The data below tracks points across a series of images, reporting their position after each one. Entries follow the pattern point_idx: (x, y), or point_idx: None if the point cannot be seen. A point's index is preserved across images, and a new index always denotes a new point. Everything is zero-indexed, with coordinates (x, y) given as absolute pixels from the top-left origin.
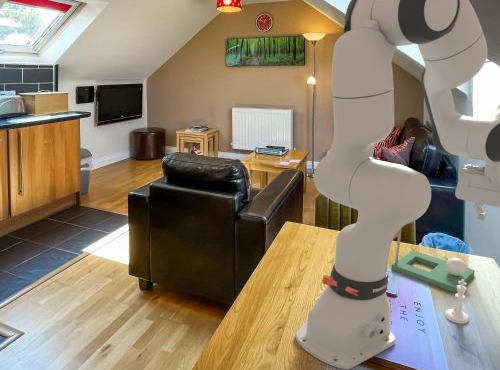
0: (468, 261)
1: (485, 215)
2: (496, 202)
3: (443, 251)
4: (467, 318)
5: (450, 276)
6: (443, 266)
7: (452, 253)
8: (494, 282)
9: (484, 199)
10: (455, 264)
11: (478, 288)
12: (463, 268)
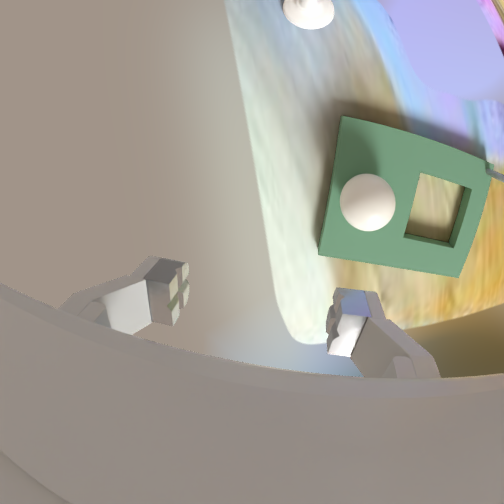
0: None
1: (330, 332)
2: (236, 404)
3: None
4: (284, 4)
5: None
6: (392, 229)
7: None
8: (268, 237)
9: (392, 423)
10: (372, 184)
11: (296, 179)
12: (347, 189)
